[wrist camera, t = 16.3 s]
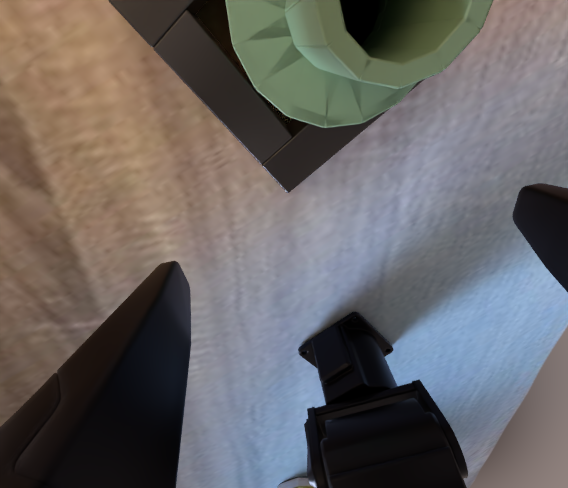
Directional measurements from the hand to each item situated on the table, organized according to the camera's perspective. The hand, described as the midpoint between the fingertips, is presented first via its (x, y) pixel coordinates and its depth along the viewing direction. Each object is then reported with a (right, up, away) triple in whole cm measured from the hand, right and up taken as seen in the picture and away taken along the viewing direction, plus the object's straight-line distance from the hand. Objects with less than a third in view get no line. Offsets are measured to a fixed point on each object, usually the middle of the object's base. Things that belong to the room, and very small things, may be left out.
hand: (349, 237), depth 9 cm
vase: (-1, +11, +8) cm, 14 cm away
